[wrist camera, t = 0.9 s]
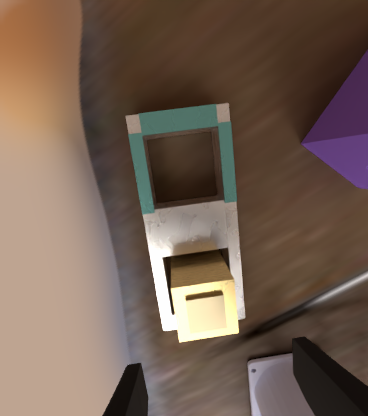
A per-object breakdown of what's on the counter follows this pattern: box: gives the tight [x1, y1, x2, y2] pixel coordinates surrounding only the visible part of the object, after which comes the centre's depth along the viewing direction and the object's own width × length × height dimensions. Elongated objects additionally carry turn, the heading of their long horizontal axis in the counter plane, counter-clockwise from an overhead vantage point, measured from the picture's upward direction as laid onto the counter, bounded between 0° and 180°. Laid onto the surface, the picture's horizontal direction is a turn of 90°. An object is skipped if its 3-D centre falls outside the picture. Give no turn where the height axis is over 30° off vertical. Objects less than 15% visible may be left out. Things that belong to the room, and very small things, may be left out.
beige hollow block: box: [171, 249, 239, 342], centre depth 16 cm, size 4×4×6 cm
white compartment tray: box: [126, 103, 245, 331], centre depth 17 cm, size 17×7×3 cm, turn 7°
